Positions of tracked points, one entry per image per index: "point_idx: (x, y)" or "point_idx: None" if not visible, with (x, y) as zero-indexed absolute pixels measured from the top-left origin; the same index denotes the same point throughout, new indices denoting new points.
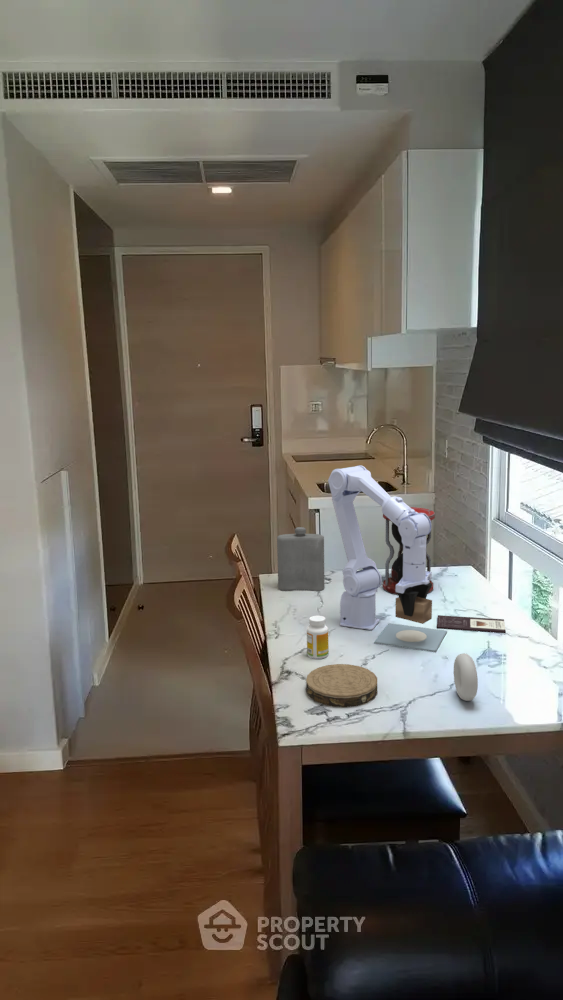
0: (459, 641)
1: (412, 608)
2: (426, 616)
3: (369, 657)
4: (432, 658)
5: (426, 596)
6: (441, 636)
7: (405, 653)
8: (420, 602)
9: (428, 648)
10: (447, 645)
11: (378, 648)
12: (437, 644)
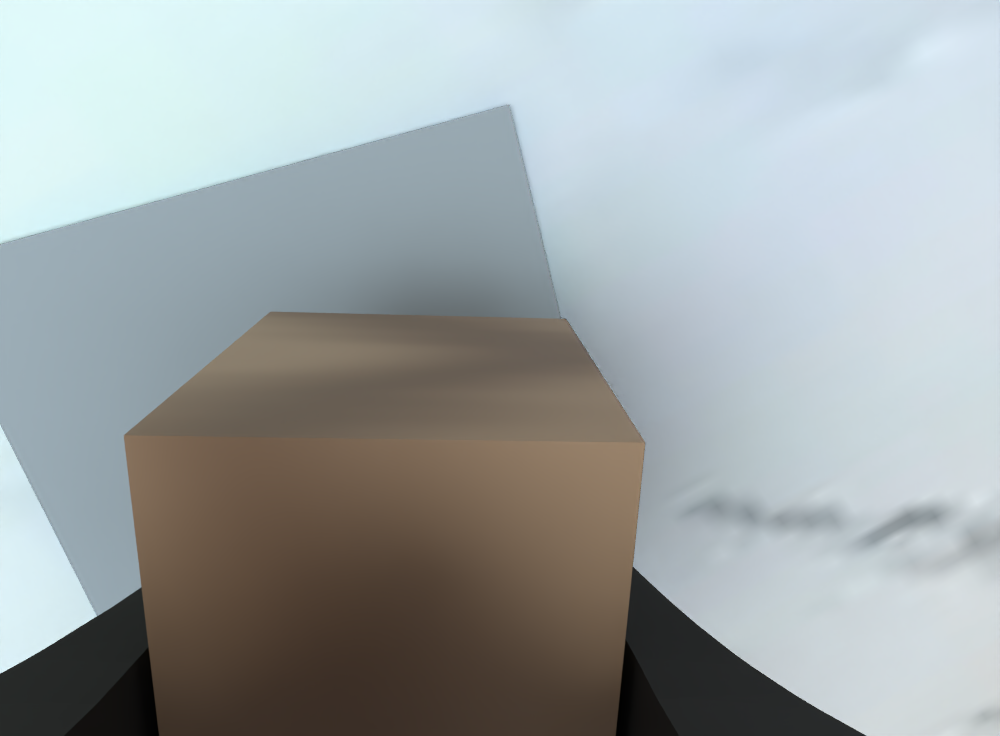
0: (54, 19)
1: (668, 605)
2: (445, 339)
3: (929, 542)
4: (668, 60)
5: (5, 676)
6: (116, 238)
7: (696, 344)
8: (498, 586)
9: (506, 197)
10: (255, 86)
11: (719, 581)
12: (349, 167)
